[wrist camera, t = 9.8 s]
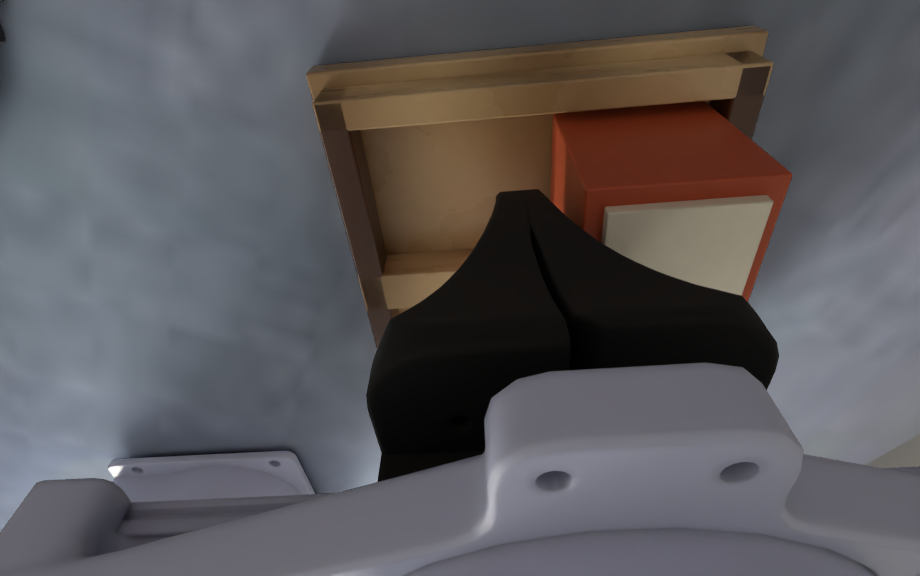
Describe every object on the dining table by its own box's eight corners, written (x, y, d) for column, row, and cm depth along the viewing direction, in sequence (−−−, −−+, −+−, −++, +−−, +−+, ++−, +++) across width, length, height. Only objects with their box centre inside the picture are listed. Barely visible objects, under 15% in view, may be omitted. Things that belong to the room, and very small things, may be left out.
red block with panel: (548, 238, 16) (576, 344, 12) (552, 112, 13) (588, 196, 10) (676, 229, 16) (745, 334, 12) (704, 99, 13) (802, 180, 9)
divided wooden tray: (392, 382, 22) (386, 420, 20) (311, 65, 14) (292, 87, 12) (668, 367, 21) (685, 405, 19) (755, 24, 13) (797, 41, 11)
